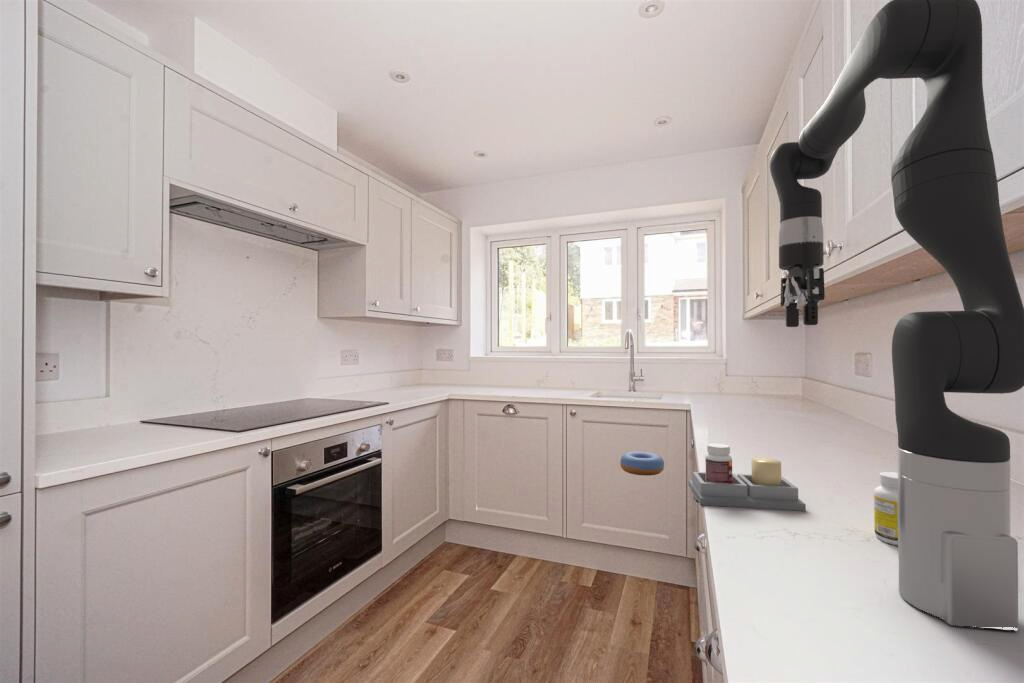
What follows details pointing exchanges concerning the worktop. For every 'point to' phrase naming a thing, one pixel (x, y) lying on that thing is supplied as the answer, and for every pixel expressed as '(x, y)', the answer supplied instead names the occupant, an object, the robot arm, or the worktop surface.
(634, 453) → the doughnut
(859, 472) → the worktop surface
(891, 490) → the supplement bottle
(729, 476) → the pill bottle
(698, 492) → the grey compartment tray
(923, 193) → the robot arm
